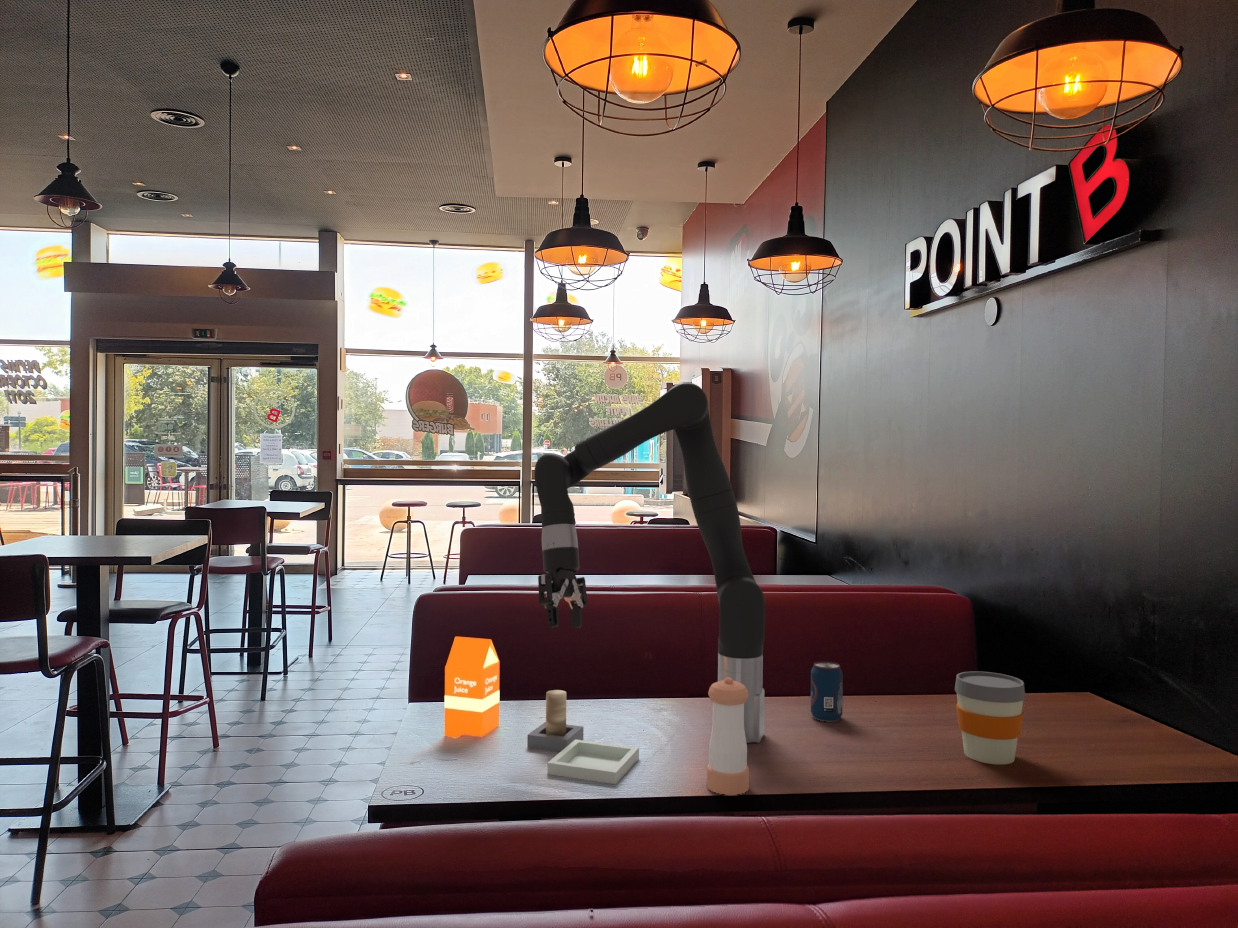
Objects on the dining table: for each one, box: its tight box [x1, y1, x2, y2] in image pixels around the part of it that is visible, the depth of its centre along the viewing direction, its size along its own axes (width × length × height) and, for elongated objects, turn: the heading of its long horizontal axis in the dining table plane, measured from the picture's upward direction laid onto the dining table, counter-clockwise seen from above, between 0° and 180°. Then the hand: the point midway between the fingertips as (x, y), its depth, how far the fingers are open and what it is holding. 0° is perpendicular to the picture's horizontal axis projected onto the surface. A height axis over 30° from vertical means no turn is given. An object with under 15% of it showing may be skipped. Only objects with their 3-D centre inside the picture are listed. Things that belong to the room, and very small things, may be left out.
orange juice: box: [444, 636, 501, 739], centre depth 166 cm, size 8×9×20 cm
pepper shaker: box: [706, 677, 750, 796], centre depth 139 cm, size 7×7×19 cm
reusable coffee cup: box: [954, 670, 1026, 765], centre depth 156 cm, size 13×13×15 cm
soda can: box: [810, 661, 844, 723], centre depth 178 cm, size 7×7×12 cm
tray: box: [546, 739, 640, 785], centre depth 146 cm, size 13×13×3 cm
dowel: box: [545, 689, 567, 736], centre depth 158 cm, size 4×4×10 cm
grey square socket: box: [526, 721, 584, 753], centre depth 158 cm, size 8×8×4 cm
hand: (565, 627), depth 162 cm, fingers open, 8 cm apart
